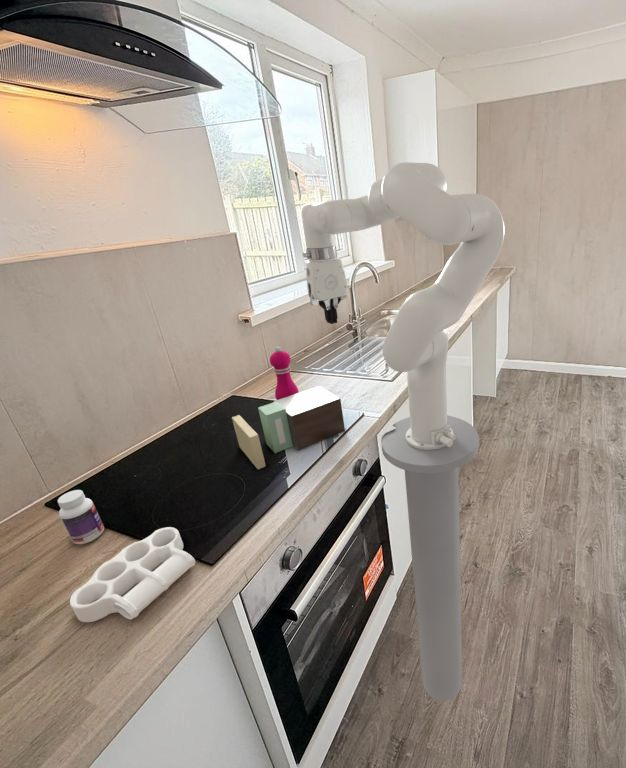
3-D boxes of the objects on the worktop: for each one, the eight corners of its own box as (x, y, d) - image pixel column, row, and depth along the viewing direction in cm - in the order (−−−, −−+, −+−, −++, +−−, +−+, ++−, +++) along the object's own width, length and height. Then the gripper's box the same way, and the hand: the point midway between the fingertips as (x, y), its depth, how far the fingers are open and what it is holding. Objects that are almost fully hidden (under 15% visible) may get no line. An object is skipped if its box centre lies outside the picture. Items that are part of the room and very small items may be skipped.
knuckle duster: (115, 643, 61) (60, 609, 67) (212, 554, 75) (160, 533, 82) (106, 627, 59) (51, 594, 66) (207, 540, 74) (154, 519, 80)
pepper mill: (274, 412, 127) (260, 351, 119) (283, 401, 134) (271, 343, 126) (296, 412, 126) (284, 350, 118) (304, 401, 133) (293, 342, 125)
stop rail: (266, 466, 100) (258, 434, 97) (258, 469, 99) (249, 437, 96) (247, 444, 111) (239, 414, 107) (239, 447, 110) (231, 417, 106)
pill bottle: (109, 531, 83) (91, 492, 79) (79, 549, 79) (58, 509, 75) (98, 522, 86) (80, 484, 82) (68, 538, 82) (47, 499, 78)
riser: (345, 431, 113) (340, 398, 109) (298, 450, 106) (291, 416, 102) (324, 416, 122) (319, 385, 118) (280, 433, 115) (273, 401, 111)
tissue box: (276, 401, 108) (257, 407, 106) (285, 408, 104) (266, 415, 101) (284, 437, 113) (266, 444, 110) (293, 446, 108) (275, 453, 105)
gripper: (302, 259, 101) (314, 331, 108) (354, 251, 109) (361, 319, 116) (289, 257, 106) (301, 326, 114) (339, 250, 114) (348, 315, 122)
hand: (332, 322), depth 115 cm, fingers closed
